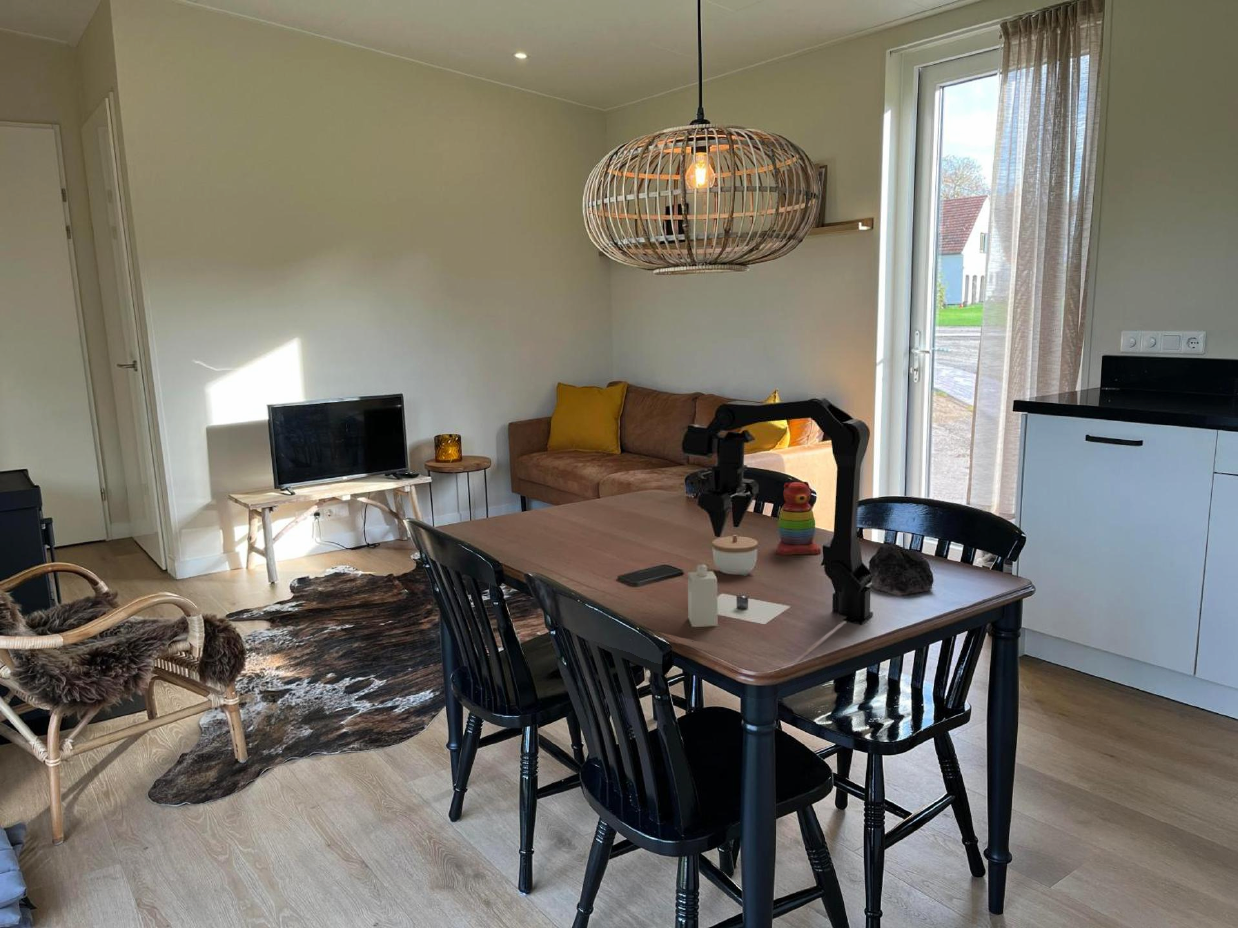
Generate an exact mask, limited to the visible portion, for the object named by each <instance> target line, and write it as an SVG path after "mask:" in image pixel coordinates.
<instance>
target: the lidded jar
mask: <svg viewBox="0 0 1238 928" xmlns="http://www.w3.org/2000/svg"><path fill="white" fill-rule="evenodd" d="M711 547H712V556H713V557H712V558H713V562H714V564H715V566H716V568H717V569H718V571H719V572H721V573H724V574H726V575H727V574H728V575H738V576H739V575H740V576H748V575H749V573H750V572H751V571H752V570H753V569H754V567H755V565H756V562H757V561H758V560H757V559H758V547H759V542H758V540H756V539H754V538H751V537H747V536H746V537H745V536H738V535H737V534H733V535H732V536H730V535H729V536H724V537H723V536H722V537H721V536H720V537H717V538H716V539H714V540H713V541H712V542H711Z"/></svg>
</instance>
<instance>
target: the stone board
mask: <svg viewBox="0 0 1238 928" xmlns="http://www.w3.org/2000/svg"><path fill="white" fill-rule="evenodd" d="M736 596H737V595H732V594H727V593H721V594H719V595H717V609H718V616H722V617H727V618H731V619H736V620H742V621H746V622H750V623H751V622H752V623H757V624H761V625H766V624H768V623H769V622H770V621H772V620H773V619H775V618H776V617H778V616H779V615H780V614H782V613H784V612H785V611H786V610H788V609H790V608H791V605H785V604H781V603H780V604H779V603H775V602H774V603H773V602H771V601H770V602H769V601H766V600H765V601H764V600H758V599H753V598H749V597H748V609H747V610H739V609H737V601H736Z"/></svg>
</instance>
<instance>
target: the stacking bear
mask: <svg viewBox="0 0 1238 928" xmlns="http://www.w3.org/2000/svg"><path fill="white" fill-rule="evenodd" d="M809 484H810V483H809V482H808V481H803V482H799V481H797V482H795V481H794V482H785V483H784V485H783V488H784V490H783V498H784V501H785V502H786V503H784V504H783V506H782V508H781V509H780V512H779V517H778V523H777V525H778V526H777V527H778V529H777V530H778V533H779V537H780V541H779V542H778V544H777V546H776V547H777V548H776V551H777V553H778V554H779V555H781V556H782V555H783V556H793V555H801V554H802V555H803V554H805V555H818V554H820V553H821V552H822V550H821V547H820V546H819V545H818V544H817V543H816V542H814V536H815V533H816V532H815V531H816V520H815V517H814V515H815V514H814V511H813V508H812V506H811V505H810V503H809V501H810V500H811V490H810V488H809V486H810V485H809Z"/></svg>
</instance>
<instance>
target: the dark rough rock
mask: <svg viewBox="0 0 1238 928" xmlns="http://www.w3.org/2000/svg"><path fill="white" fill-rule="evenodd" d="M868 569H869V570H870V571H871V572H872V573H873V578H872V580H871V582H870V584H872V587H873V588H874V589H875V590H879V591H882V592H884V593H888V594H889V595H890V594H891V595H893V596H900V597H901V596H906V595H909V594H910V595H911V594H917V593H920V592H921V593H922V592H927V591H930V590H933V585H934V582H935V580H934V573H933V572H932V570H931V566H930V563H929V562H928V560H927V559H925V558H924V557H923V555H920V554H918V553H917V552H916V551H915V550H913V549H910V548H905V547H903V546H902V545H899V544H894V543H892V544H889V545H888V544H883V545H880V547H878V549H877V550H876V553H875V554H874V555H872V556H871V558H870V559H869V561H868Z"/></svg>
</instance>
